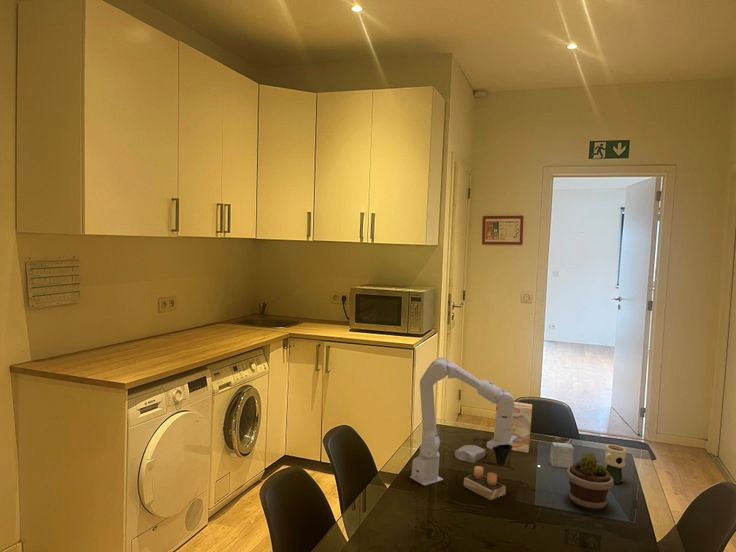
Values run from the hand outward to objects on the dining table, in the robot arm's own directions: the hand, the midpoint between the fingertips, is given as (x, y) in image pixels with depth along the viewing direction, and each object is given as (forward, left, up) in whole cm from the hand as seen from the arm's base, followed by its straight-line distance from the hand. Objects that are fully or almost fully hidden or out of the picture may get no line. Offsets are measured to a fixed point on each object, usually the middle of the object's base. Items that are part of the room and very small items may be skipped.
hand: (500, 464), depth 185 cm
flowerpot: (+20, -22, -10) cm, 31 cm away
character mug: (+47, -17, -10) cm, 51 cm away
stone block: (+15, +27, -10) cm, 33 cm away
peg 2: (-4, 0, -6) cm, 7 cm away
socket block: (-4, +3, -10) cm, 11 cm away
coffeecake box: (+40, +25, -10) cm, 48 cm away
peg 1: (-4, +6, -6) cm, 9 cm away
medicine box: (+42, +2, -10) cm, 43 cm away
